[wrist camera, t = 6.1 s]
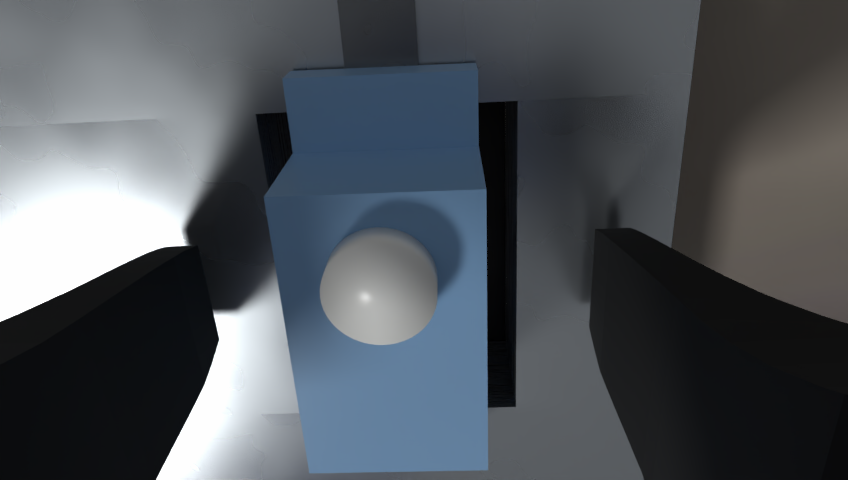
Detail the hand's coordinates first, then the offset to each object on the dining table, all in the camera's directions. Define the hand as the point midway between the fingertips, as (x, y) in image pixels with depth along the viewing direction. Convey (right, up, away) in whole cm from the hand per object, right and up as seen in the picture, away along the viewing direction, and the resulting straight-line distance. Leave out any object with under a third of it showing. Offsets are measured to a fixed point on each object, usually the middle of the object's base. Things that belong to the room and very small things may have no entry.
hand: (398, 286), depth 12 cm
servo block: (0, +1, +2) cm, 3 cm away
